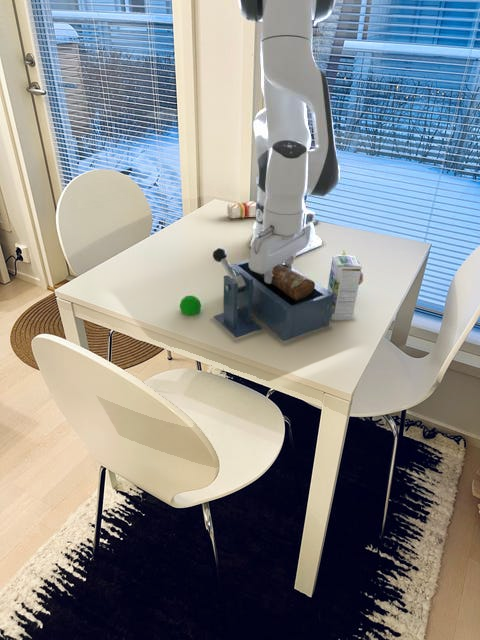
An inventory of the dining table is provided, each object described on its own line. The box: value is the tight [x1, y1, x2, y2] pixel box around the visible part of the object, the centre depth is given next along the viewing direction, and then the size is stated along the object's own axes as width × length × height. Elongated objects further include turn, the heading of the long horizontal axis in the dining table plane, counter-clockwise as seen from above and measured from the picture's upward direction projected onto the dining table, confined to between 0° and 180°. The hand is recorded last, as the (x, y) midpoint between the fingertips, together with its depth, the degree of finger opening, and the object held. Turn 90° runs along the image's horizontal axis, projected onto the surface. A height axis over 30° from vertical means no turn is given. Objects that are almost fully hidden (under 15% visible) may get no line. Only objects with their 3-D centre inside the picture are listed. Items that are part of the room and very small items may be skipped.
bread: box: [258, 264, 316, 300], centre depth 117 cm, size 6×19×6 cm, turn 33°
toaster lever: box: [212, 247, 247, 293], centre depth 113 cm, size 12×3×3 cm, turn 32°
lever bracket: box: [213, 271, 263, 338], centre depth 114 cm, size 10×7×13 cm
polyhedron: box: [179, 295, 202, 316], centre depth 120 cm, size 5×5×5 cm
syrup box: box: [326, 254, 363, 321], centre depth 119 cm, size 6×6×14 cm
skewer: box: [226, 200, 256, 219], centre depth 175 cm, size 21×6×5 cm, turn 109°
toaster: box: [228, 259, 334, 342], centre depth 120 cm, size 13×24×9 cm, turn 32°
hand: (278, 276), depth 118 cm, fingers closed on bread, 6 cm apart
